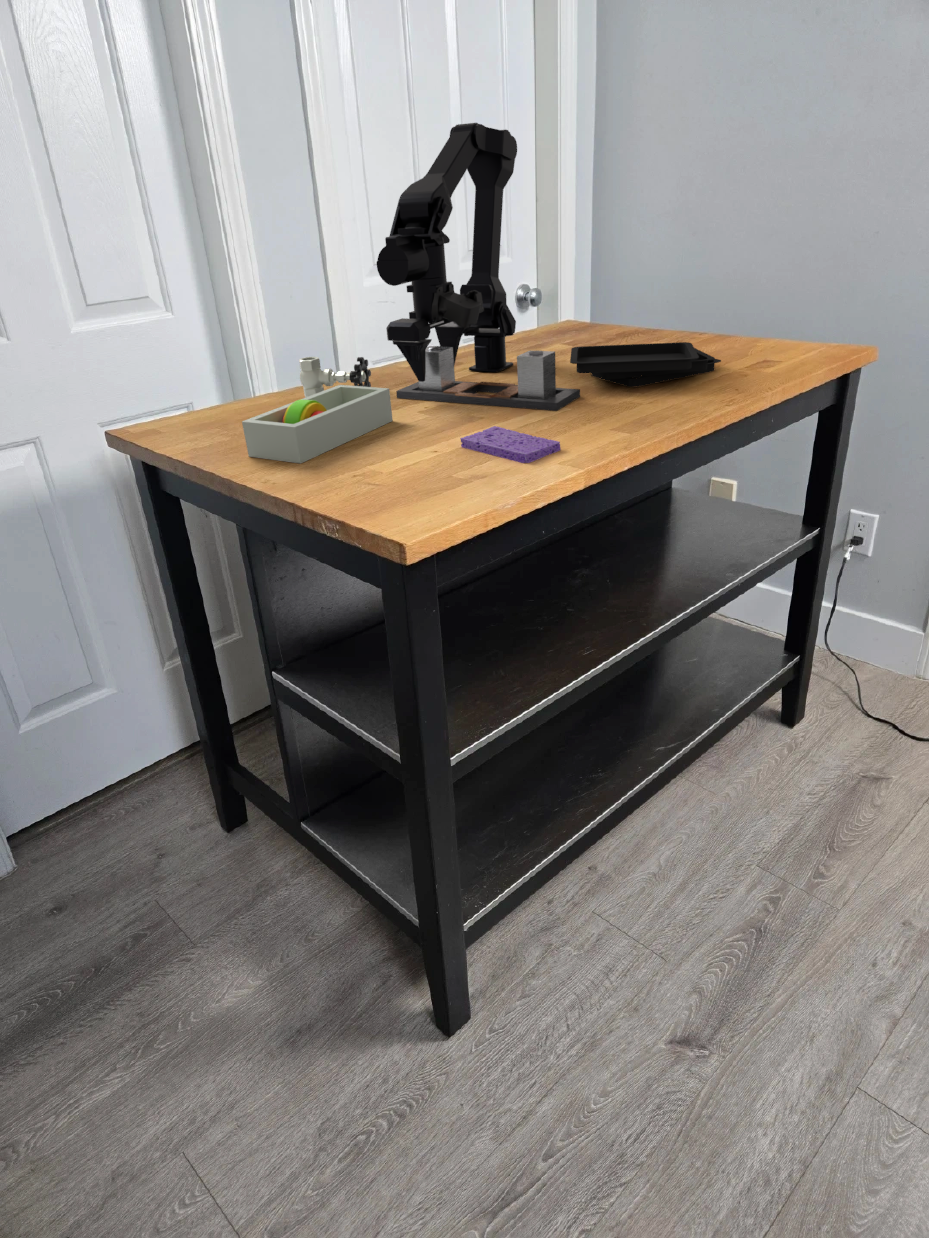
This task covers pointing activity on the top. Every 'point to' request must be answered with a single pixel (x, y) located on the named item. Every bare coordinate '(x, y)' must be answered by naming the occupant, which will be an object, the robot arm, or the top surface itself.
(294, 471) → the top surface
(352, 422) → the box
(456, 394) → the rail
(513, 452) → the sponges
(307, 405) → the green arched piece
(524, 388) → the grey metal block
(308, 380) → the valve
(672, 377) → the tray
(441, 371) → the knobbed block
